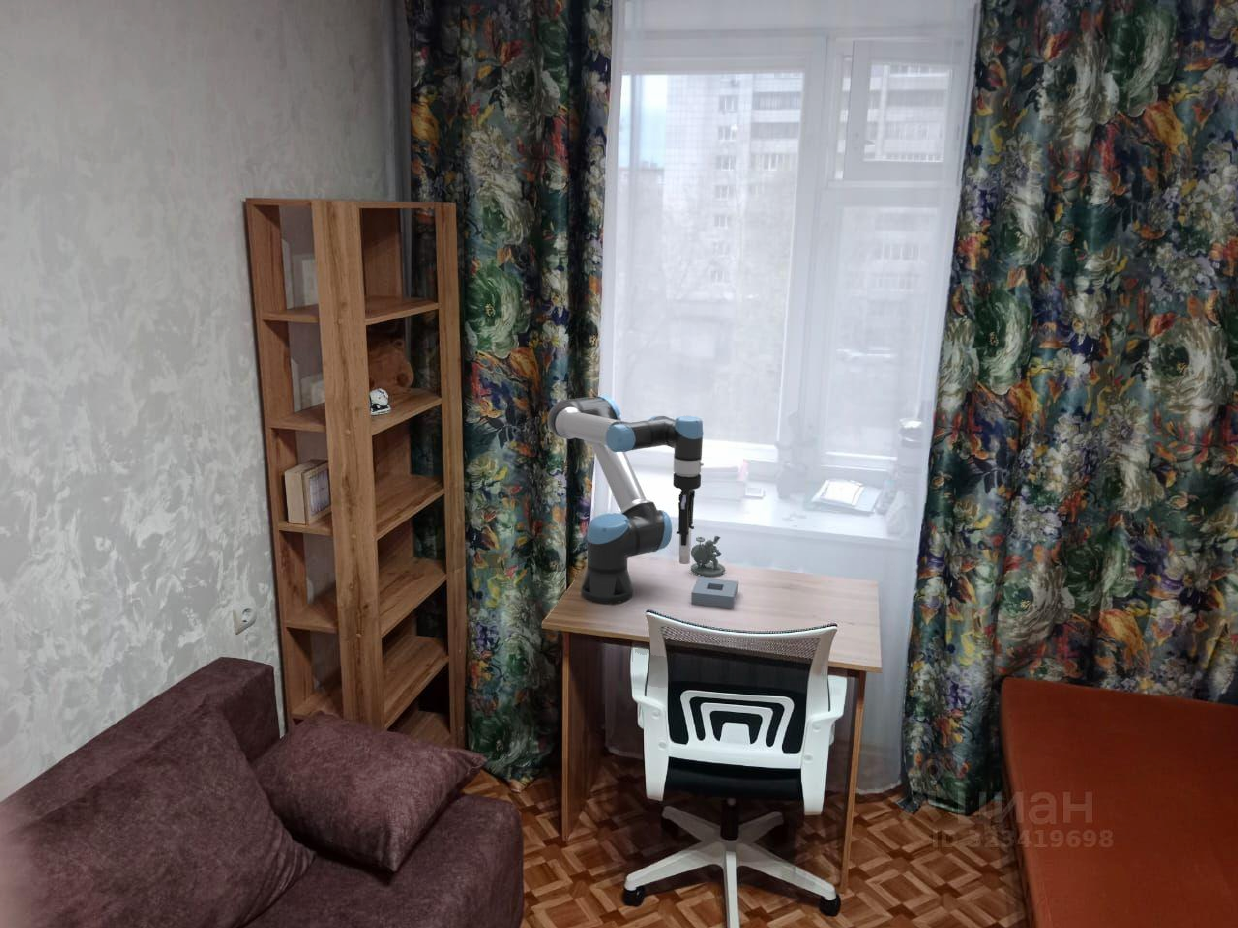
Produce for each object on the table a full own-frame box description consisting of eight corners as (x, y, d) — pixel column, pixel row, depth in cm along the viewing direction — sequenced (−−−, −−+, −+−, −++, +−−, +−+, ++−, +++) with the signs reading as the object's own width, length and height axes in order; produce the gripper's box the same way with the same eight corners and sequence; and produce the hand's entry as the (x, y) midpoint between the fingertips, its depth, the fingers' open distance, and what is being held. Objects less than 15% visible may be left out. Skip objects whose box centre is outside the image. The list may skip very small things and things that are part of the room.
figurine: (729, 576, 286) (731, 539, 282) (696, 578, 283) (697, 542, 280) (718, 563, 296) (719, 528, 292) (686, 565, 293) (687, 530, 290)
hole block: (691, 603, 265) (691, 592, 264) (697, 587, 276) (698, 576, 276) (732, 608, 263) (733, 596, 262) (737, 591, 274) (738, 580, 273)
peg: (678, 563, 258) (679, 529, 255) (679, 559, 261) (681, 526, 258) (688, 564, 258) (689, 530, 255) (690, 560, 260) (691, 527, 258)
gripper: (696, 481, 244) (693, 564, 250) (705, 466, 259) (702, 545, 265) (668, 479, 246) (666, 561, 252) (679, 464, 260) (676, 542, 267)
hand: (684, 553), depth 258 cm, fingers closed on peg, 2 cm apart
